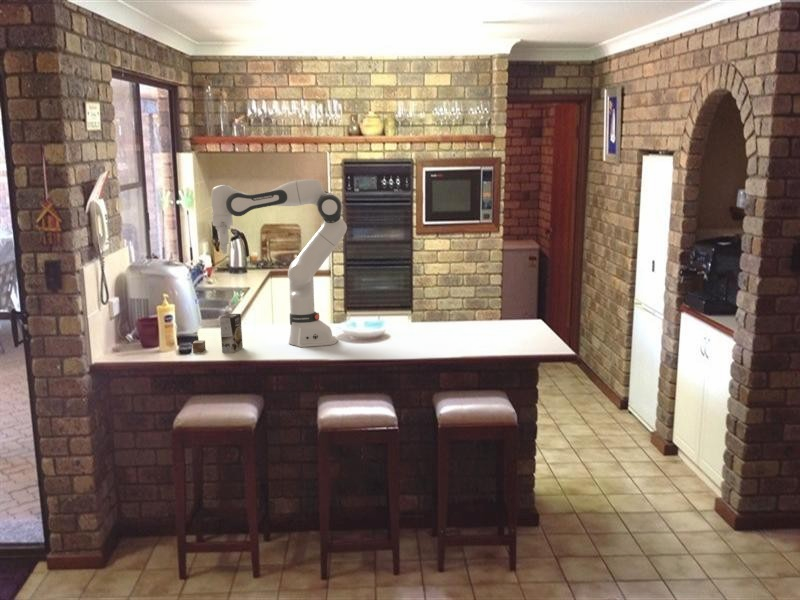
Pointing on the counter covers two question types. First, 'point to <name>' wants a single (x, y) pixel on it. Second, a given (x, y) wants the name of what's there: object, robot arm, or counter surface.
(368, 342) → the counter surface
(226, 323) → the coffee box
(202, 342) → the walnut block
